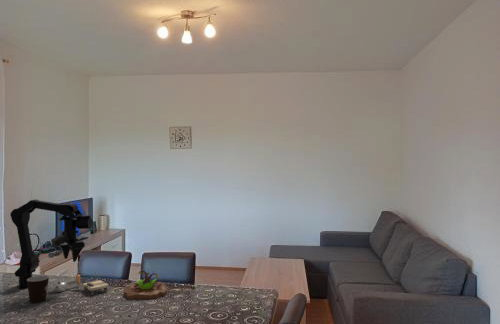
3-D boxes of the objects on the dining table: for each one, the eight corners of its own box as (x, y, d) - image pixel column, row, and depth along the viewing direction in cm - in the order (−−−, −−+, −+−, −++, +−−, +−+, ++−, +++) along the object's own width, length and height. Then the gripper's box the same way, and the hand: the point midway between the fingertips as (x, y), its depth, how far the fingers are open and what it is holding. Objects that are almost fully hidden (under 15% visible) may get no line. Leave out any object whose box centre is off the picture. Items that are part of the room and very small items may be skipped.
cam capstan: (55, 293, 172) (55, 281, 172) (51, 290, 177) (51, 278, 177) (82, 286, 181) (82, 275, 181) (77, 284, 185) (77, 273, 185)
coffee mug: (38, 305, 159) (38, 282, 159) (21, 303, 160) (22, 280, 161) (57, 295, 170) (58, 274, 170) (41, 294, 172) (42, 273, 172)
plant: (124, 288, 181) (124, 266, 181) (164, 284, 187) (164, 262, 187) (123, 303, 162) (123, 278, 162) (168, 298, 168) (168, 273, 168)
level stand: (69, 290, 177) (69, 280, 177) (95, 284, 186) (95, 275, 186) (80, 298, 166) (80, 287, 166) (108, 291, 175) (108, 281, 175)
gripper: (45, 229, 183) (45, 260, 183) (62, 233, 171) (61, 266, 171) (67, 226, 191) (67, 256, 191) (85, 230, 180) (85, 262, 179)
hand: (70, 260), depth 183 cm, fingers open, 9 cm apart
